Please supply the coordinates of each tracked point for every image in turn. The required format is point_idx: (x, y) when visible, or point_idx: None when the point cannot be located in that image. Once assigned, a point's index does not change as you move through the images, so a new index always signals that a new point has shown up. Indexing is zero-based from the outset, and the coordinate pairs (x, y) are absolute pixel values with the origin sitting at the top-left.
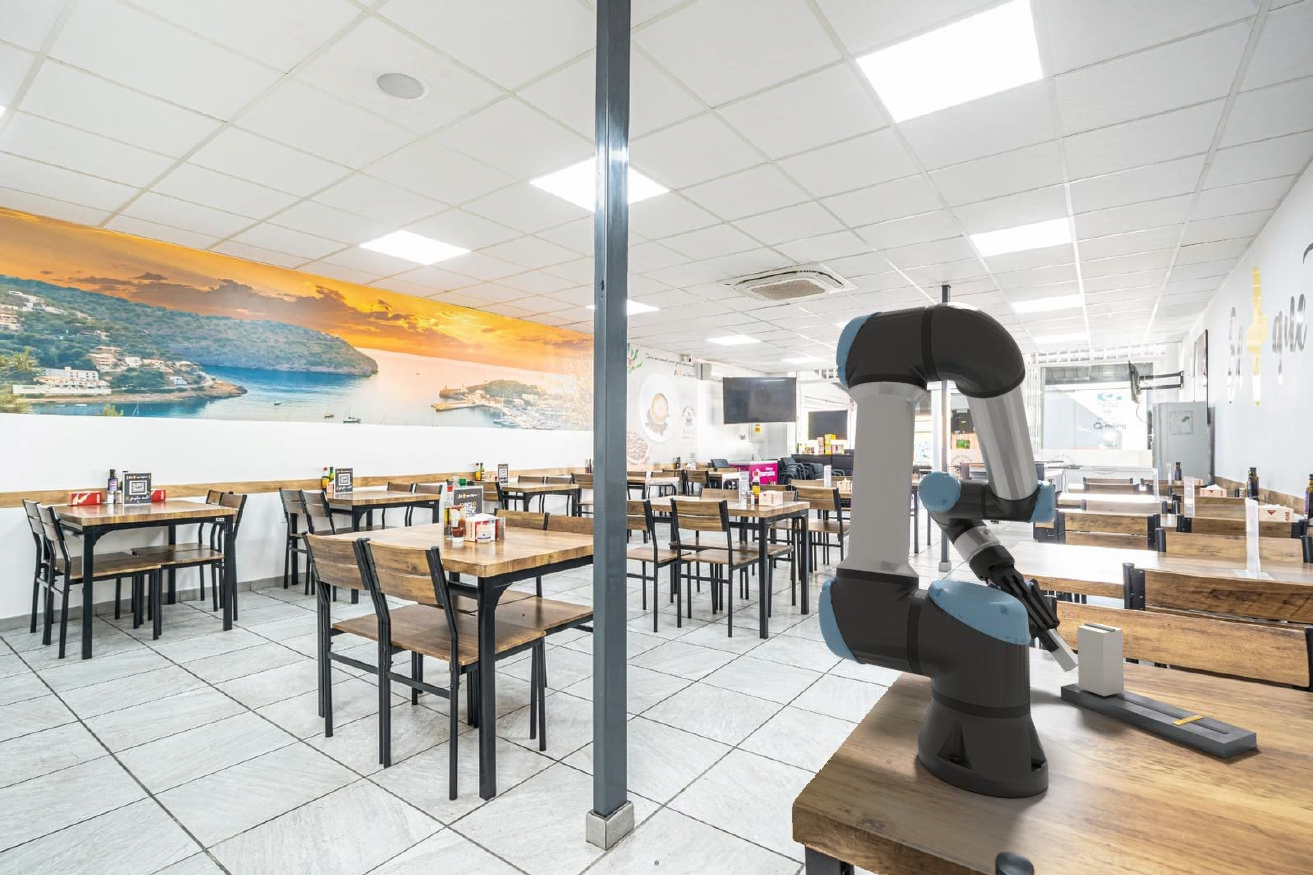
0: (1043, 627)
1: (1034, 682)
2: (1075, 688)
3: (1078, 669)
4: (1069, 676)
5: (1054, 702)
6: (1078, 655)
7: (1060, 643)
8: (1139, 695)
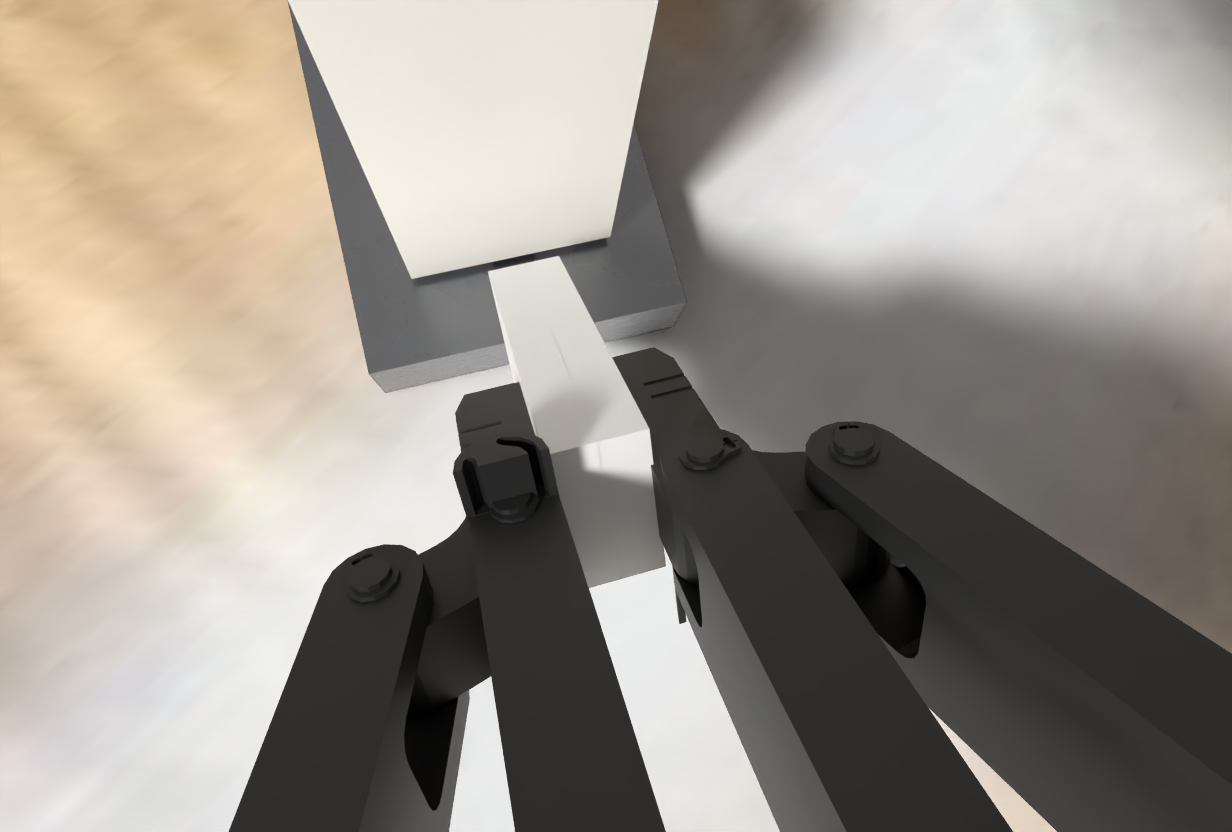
0: (713, 444)
1: (617, 614)
2: (619, 256)
3: (622, 176)
4: (270, 688)
5: (734, 307)
6: (634, 111)
7: (593, 342)
8: (317, 94)
